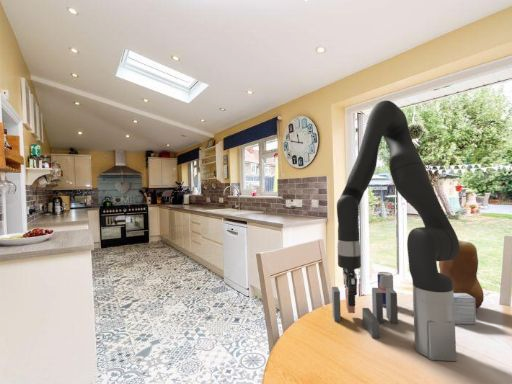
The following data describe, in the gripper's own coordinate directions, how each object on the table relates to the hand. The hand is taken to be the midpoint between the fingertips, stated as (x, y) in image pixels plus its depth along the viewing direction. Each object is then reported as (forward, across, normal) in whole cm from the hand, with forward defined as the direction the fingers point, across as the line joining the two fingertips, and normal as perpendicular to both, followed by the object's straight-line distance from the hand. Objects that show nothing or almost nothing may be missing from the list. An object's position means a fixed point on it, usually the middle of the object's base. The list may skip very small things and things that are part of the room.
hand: (350, 302), depth 96 cm
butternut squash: (+6, +12, -40) cm, 42 cm away
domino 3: (+3, -3, -4) cm, 6 cm away
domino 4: (+5, 0, -9) cm, 10 cm away
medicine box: (+6, +1, -34) cm, 35 cm away
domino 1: (+5, -1, +5) cm, 7 cm away
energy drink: (+6, +13, -15) cm, 20 cm away
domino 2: (+3, 0, 0) cm, 3 cm away
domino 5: (+5, 0, -13) cm, 14 cm away
